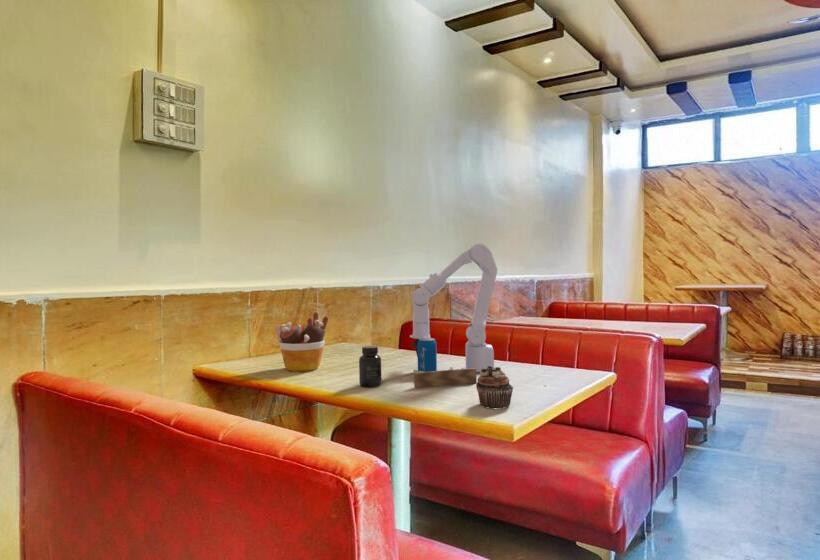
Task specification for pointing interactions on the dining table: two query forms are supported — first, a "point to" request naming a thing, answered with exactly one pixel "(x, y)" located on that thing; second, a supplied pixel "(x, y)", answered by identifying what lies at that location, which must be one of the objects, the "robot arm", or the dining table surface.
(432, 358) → the beverage can
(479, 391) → the cupcake
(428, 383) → the caddy
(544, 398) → the dining table surface
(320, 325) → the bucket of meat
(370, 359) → the supplement bottle
